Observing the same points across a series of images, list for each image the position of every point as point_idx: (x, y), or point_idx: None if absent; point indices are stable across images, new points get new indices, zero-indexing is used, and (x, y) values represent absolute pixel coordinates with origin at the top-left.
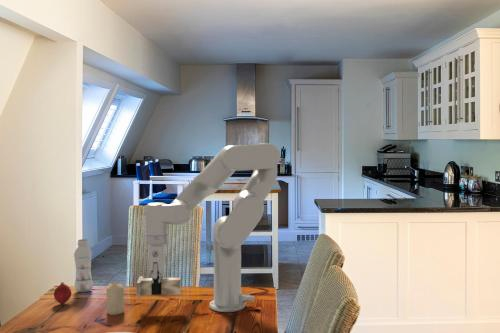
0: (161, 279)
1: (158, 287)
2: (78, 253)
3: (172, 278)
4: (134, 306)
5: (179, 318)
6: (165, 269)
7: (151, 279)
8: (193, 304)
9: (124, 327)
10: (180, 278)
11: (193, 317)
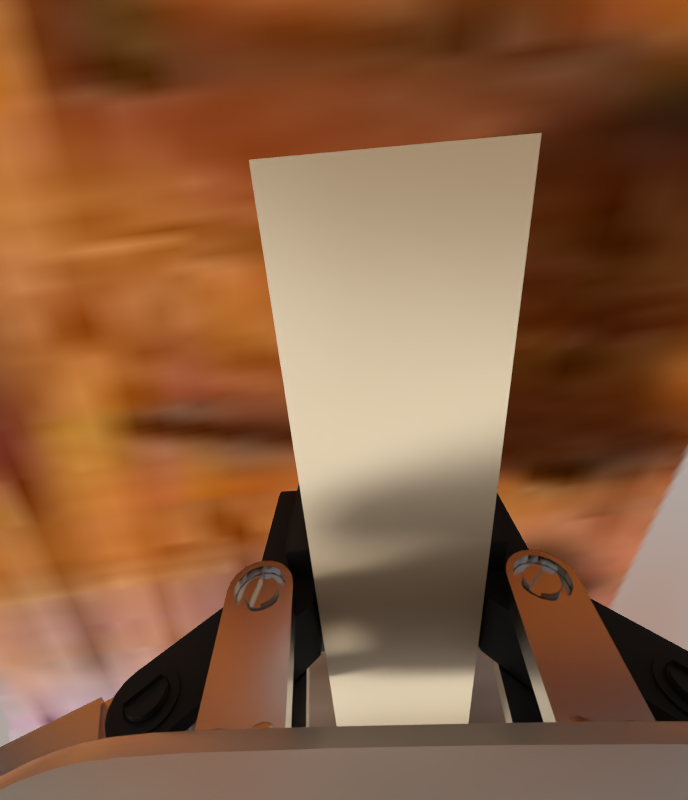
0: (428, 577)
1: (512, 522)
2: None
3: (362, 389)
4: None
5: (581, 186)
6: (320, 777)
7: (413, 689)
8: (192, 70)
9: (635, 526)
10: (301, 158)
11: (595, 19)
